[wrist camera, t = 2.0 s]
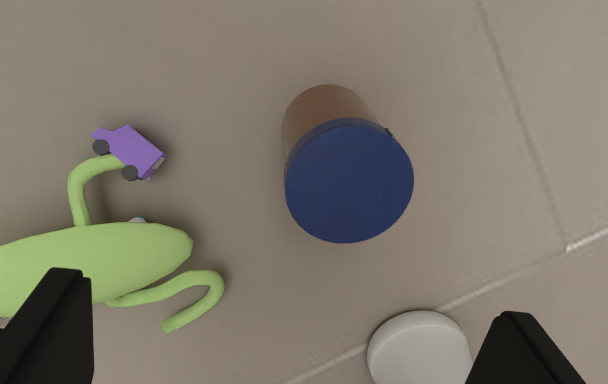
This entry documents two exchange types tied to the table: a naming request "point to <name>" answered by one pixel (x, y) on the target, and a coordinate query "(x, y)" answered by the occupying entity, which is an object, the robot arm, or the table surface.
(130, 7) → the table surface
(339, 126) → the jar lid
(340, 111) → the jam jar
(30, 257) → the figurine
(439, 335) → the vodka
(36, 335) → the robot arm
